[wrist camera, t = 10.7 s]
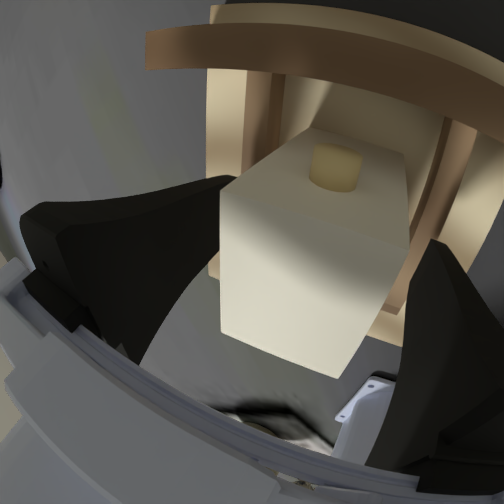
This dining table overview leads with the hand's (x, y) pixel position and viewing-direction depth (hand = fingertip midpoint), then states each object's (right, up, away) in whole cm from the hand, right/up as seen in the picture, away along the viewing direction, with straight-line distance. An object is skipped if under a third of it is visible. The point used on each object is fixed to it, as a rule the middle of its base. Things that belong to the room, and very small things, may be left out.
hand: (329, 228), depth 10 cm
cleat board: (+2, +2, +3) cm, 4 cm away
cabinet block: (+1, +2, +2) cm, 3 cm away
